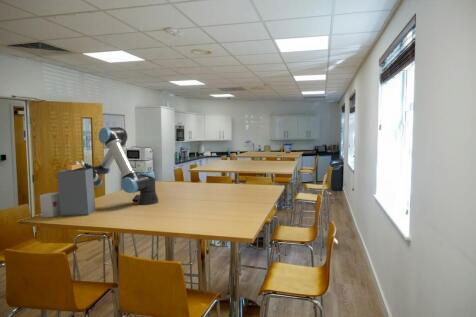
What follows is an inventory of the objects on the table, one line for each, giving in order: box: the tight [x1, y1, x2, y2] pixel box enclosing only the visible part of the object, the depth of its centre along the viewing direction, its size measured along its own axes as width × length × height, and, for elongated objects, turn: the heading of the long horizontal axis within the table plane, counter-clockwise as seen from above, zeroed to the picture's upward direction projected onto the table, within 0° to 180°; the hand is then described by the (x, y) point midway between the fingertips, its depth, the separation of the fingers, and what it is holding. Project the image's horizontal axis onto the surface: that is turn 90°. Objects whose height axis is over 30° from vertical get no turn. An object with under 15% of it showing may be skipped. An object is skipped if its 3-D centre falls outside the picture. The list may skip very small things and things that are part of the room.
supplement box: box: [39, 192, 61, 218], centre depth 222 cm, size 9×9×15 cm
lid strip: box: [66, 163, 83, 170], centre depth 226 cm, size 3×24×3 cm, turn 4°
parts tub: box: [56, 169, 96, 218], centre depth 224 cm, size 18×13×30 cm
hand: (79, 162), depth 229 cm, fingers closed on lid strip, 3 cm apart
